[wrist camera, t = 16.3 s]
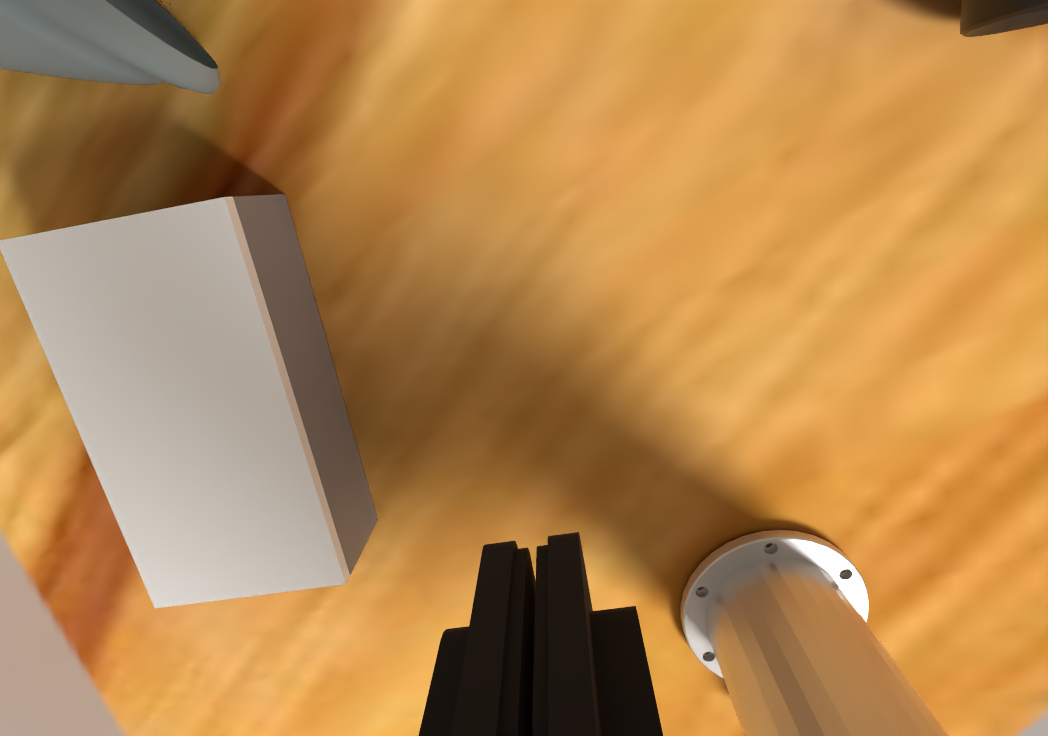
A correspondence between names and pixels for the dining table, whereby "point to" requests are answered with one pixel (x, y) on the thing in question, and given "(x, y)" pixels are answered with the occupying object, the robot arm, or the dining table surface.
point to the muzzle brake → (1001, 16)
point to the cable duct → (309, 366)
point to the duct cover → (182, 400)
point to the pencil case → (103, 43)
